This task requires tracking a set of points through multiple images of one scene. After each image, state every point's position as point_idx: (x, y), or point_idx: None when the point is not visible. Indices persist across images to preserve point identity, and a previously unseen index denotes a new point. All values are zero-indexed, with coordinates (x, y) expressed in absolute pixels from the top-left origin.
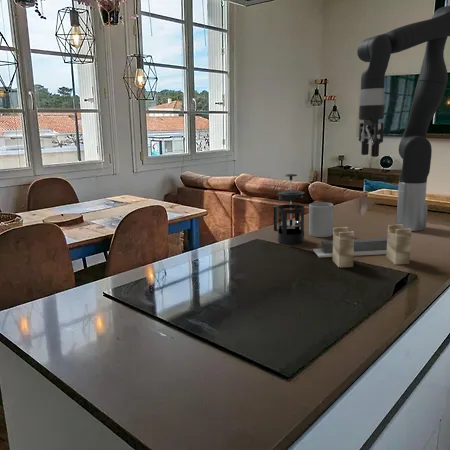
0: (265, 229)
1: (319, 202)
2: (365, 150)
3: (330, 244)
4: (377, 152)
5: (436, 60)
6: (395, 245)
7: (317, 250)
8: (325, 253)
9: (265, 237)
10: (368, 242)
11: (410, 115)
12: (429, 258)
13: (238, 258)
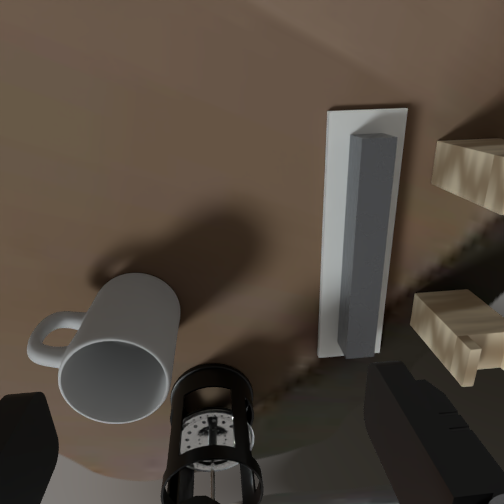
0: (67, 451)
1: (61, 383)
2: (25, 469)
3: (374, 338)
4: (446, 412)
5: None
6: None
7: (335, 350)
8: None
9: (165, 451)
10: (385, 231)
11: None
12: (478, 46)
13: (337, 495)
